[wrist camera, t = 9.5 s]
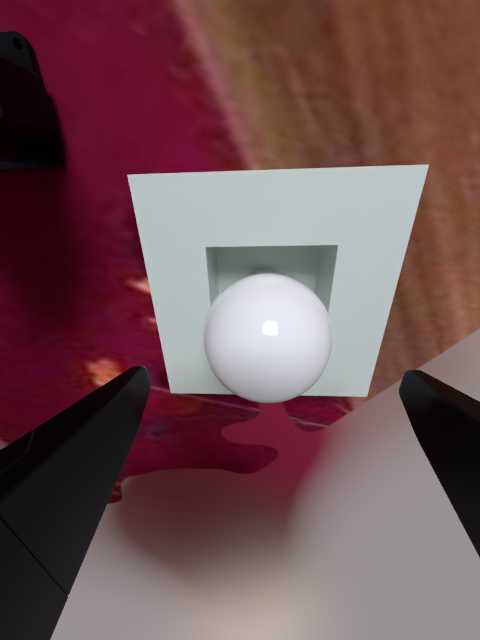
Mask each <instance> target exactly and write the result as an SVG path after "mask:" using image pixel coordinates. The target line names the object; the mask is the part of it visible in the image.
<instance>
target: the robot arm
mask: <svg viewBox="0 0 480 640" xmlns="http://www.w3.org/2000/svg"><path fill="white" fill-rule="evenodd" d="M20 41H21V42H22V49H21V50H20V48H19V42H20ZM54 155H55V156H56V158H57V162H55V161H54V159H53V156H54ZM64 163H65V161H64V156H63V153H62V149H61V146H60V143H59V139H58V136H57V132H56V124H55V121H54V118H53V114H52V111H51V107H50V104H49V100H48V97H47V93H46V90H45V87H44V83H43V80H42V78H41V77H40V74H39V71H38V67H37V64H36V60H35V57H34V53H33V50H32V47H31V44H30V42H29V41H28V39H27V38H26V37H24V36H23V35H21V34H20V33H18V32H15V31H11V32H0V170H8V169H36V168H60V167H63V165H64ZM149 392H150V380H149V376H148V372H147V368H146V367H145V366H133V367H131V368H130V369H128V370H127V371H125V372H124V373H122V374H120V375H119V376H117V377H116V378H114V379H112V380H111V381H109V382H108V383H106V384H105V385H103V386H101V387H100V388H98V389H97V390H95V391H94V392H92V393H90V394H89V395H87V396H86V397H84V398H82V399H81V400H79V401H78V402H76V403H75V404H73V405H71V406H70V407H68V408H67V409H65V410H64V411H62V412H60V413H59V414H57V415H56V416H54V417H52V418H51V419H49V420H48V421H46V422H45V423H43V424H41V425H40V426H38V427H37V428H35V431H34V430H32V431H30V432H29V433H27V434H26V435H24V436H22V437H21V438H19V439H18V440H16V441H14V442H13V443H11V444H10V445H8V446H6V447H5V448H3V449H1V450H0V640H50V639H51V636H52V634H53V632H54V629H55V627H56V624H57V622H58V619H59V617H60V615H61V612H62V610H63V608H64V605H65V603H66V601H67V598H68V596H67V595H69V593H70V591H71V588H72V586H73V584H74V581H75V579H76V576H77V574H78V572H79V569H80V567H81V564H82V562H83V560H84V558H85V555H86V553H87V550H88V548H89V546H90V543H91V541H92V539H93V536H94V534H95V531H96V529H97V527H98V524H99V522H100V520H101V517H102V515H103V512H104V510H105V507H106V505H107V503H108V501H109V498H110V496H111V493H112V491H113V489H114V486H115V484H116V482H117V479H118V477H119V474H120V472H121V470H122V467H123V465H124V463H125V460H126V458H127V455H128V453H129V451H130V448H131V446H132V444H133V441H134V439H135V436H136V434H137V431H138V429H139V426H140V422H141V419H142V416H143V412H144V409H145V406H146V402H147V399H148V396H149ZM399 394H400V397H401V400H402V402H403V405H404V407H405V410H406V412H407V415H408V417H409V420H410V422H411V425H412V427H413V430H414V432H415V434H416V437H417V439H418V441H419V443H420V445H421V447H422V449H423V450H424V452H425V454H426V456H427V458H428V460H429V462H430V464H431V466H432V467H433V470H434V471H435V473H436V475H437V477H438V479H439V481H440V483H441V485H442V487H443V489H444V490H445V492H446V494H447V496H448V498H449V500H450V502H451V504H452V505H453V508H454V509H455V511H456V513H457V515H458V517H459V519H460V521H461V523H462V525H463V527H464V528H465V530H466V532H467V534H468V536H469V538H470V540H471V542H472V544H473V546H474V548H475V549H476V551H477V553H478V555H479V557H480V402H479V401H477V400H475V399H473V398H471V397H469V396H468V395H466V394H464V393H462V392H460V391H458V390H456V389H454V388H453V387H451V386H449V385H447V384H445V383H443V382H441V381H439V380H438V379H436V378H434V377H432V376H430V375H428V374H426V373H425V372H423V371H420V370H407V371H406V372H405V373H404V376H403V379H402V382H401V385H400V388H399Z"/></svg>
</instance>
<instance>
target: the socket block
mask: <svg viewBox="0 0 480 640" xmlns="http://www.w3.org/2000/svg"><path fill="white" fill-rule="evenodd" d="M428 166H429V165H401V166H371V167H341V168H312V169H282V170H252V171H223V172H193V173H164V174H134V175H128V180H129V185H130V190H131V195H132V200H133V205H134V210H135V215H136V220H137V225H138V230H139V235H140V240H141V245H142V250H143V255H144V260H145V265H146V270H147V275H148V280H149V285H150V290H151V295H152V300H153V305H154V310H155V315H156V320H157V325H158V330H159V335H160V340H161V345H162V350H163V355H164V360H165V365H166V370H167V375H168V380H169V385H170V390H171V393H193V394H234V393H232V392H231V391H229V390H228V389H227V388H226V387H224V386H223V385H222V384H221V383H220V382H219V380H218V379H217V378H216V377H215V375H214V374H213V372H212V371H211V369H210V367H209V365H208V362H207V360H206V357H205V353H204V348H203V327H204V322H205V319H206V316H207V313H208V311H209V309H210V307H211V305H212V303H213V302H214V300H215V299H216V298H217V296H218V295H219V294H220V293H221V292H222V291H223V290H224V289H225V288H227V287H228V286H229V285H231V284H232V283H234V282H235V281H237V280H239V279H241V278H244V277H247V276H250V275H251V274H252V273H253V272H255V271H258V270H269V271H271V272H273V273H275V274H281V275H285V276H288V277H291V278H294V279H296V280H298V281H300V282H301V283H303V284H304V285H306V286H307V287H308V288H310V289H311V290H312V291H313V292H314V293H315V294H316V295H317V296H318V297H319V299H320V300H321V301H322V303H323V304H324V306H325V308H326V310H327V312H328V315H329V317H330V320H331V324H332V330H333V348H332V353H331V357H330V360H329V363H328V365H327V367H326V369H325V371H324V373H323V374H322V376H321V377H320V378H319V380H318V381H317V382H316V383H315V384H314V385H313V386H312V387H311V388H310V389H308V390H307V391H306V392H304V393H303V394H301V395H304V396H359V397H367V394H368V390H369V387H370V383H371V379H372V375H373V372H374V368H375V364H376V361H377V357H378V353H379V349H380V346H381V342H382V338H383V334H384V331H385V327H386V323H387V319H388V316H389V312H390V308H391V305H392V301H393V297H394V293H395V290H396V286H397V282H398V278H399V275H400V271H401V267H402V263H403V260H404V256H405V252H406V249H407V245H408V241H409V237H410V234H411V230H412V226H413V222H414V219H415V215H416V211H417V207H418V204H419V200H420V196H421V193H422V189H423V185H424V181H425V178H426V174H427V170H428Z"/></svg>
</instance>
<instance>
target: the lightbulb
mask: <svg viewBox="0 0 480 640" xmlns="http://www.w3.org/2000/svg"><path fill="white" fill-rule="evenodd" d="M203 348H204V353H205V357H206V360H207V362H208V365H209V367H210V369H211V371H212V372H213V374H214V375H215V377H216V378H217V379H218V380H219V382H220V383H221V384H222V385H223V386H224V387H226V388H227V389H228V390H229V391H231V392H232V393H234V394H236V395H237V396H239V397H241V398H244V399H246V400H249V401H253V402H258V403H278V402H284V401H287V400H290V399H293V398H295V397H297V396H299V395H301V394H303V393H304V392H306V391H307V390H308V389H310V388H311V387H312V386H313V385H314V384H315V383H316V382H317V381H318V380H319V378H320V377H321V376H322V374H323V373H324V371H325V369H326V367H327V365H328V363H329V360H330V357H331V353H332V348H333V330H332V324H331V320H330V317H329V315H328V312H327V310H326V308H325V306H324V304H323V303H322V301H321V300H320V299H319V297H318V296H317V295H316V294H315V293H314V292H313V291H312V290H311V289H310V288H308V287H307V286H306V285H304V284H303V283H301V282H300V281H298V280H296V279H294V278H291V277H288V276H285V275H281V274H275V273H273V272H271V271H269V270H258V271H255V272H253V273H252V274H251V275H250V276H247V277H244V278H241V279H239V280H237V281H235V282H234V283H232V284H231V285H229V286H228V287H227V288H225V289H224V290H223V291H222V292H221V293H220V294H219V295H218V296H217V298H216V299H215V300H214V302H213V303H212V305H211V307H210V309H209V311H208V313H207V316H206V319H205V322H204V327H203Z"/></svg>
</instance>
